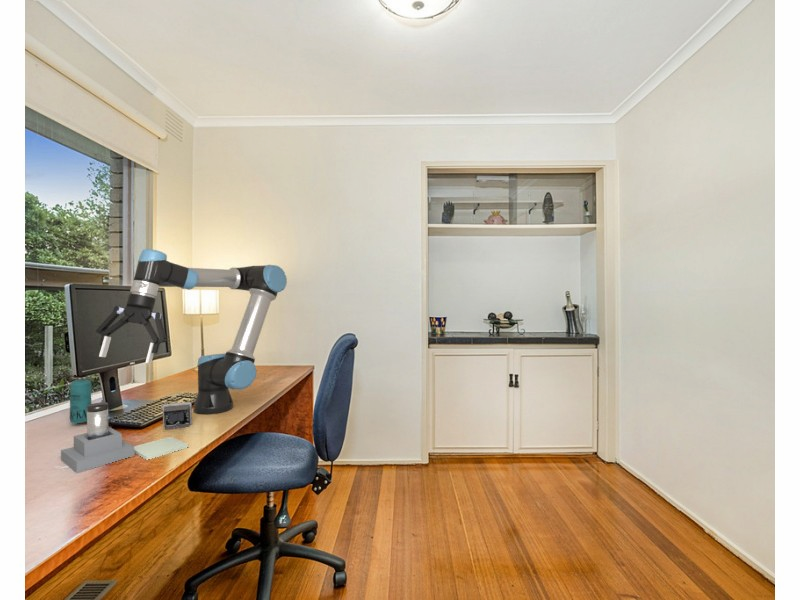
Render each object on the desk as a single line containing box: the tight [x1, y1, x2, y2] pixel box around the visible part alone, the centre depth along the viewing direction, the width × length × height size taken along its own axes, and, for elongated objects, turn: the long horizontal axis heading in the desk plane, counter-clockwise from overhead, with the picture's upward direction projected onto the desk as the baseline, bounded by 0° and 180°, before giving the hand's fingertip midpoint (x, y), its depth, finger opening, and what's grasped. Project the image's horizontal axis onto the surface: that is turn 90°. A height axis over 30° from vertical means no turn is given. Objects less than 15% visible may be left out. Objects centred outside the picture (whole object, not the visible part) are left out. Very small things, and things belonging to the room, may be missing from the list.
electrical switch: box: [161, 401, 193, 431], centre depth 146 cm, size 9×5×9 cm, turn 113°
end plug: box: [86, 401, 109, 440], centre depth 120 cm, size 5×5×13 cm
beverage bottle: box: [69, 374, 93, 424], centre depth 150 cm, size 6×7×20 cm
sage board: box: [133, 436, 189, 461], centre depth 127 cm, size 12×12×1 cm
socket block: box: [60, 427, 135, 474], centre depth 120 cm, size 14×14×7 cm
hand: (125, 360), depth 129 cm, fingers open, 13 cm apart
